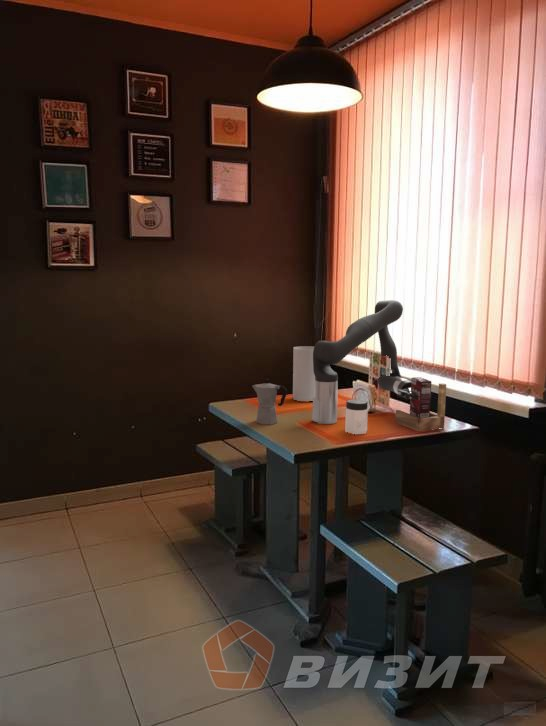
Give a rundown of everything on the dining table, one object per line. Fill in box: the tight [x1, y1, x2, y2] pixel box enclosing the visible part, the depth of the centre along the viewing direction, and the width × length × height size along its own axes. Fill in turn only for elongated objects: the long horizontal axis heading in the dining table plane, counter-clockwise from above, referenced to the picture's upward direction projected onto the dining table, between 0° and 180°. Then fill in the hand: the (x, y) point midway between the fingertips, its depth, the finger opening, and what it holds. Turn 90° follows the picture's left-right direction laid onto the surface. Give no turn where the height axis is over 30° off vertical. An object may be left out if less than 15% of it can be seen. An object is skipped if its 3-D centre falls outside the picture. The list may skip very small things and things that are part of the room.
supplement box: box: [409, 376, 432, 418], centre depth 241 cm, size 9×5×16 cm, turn 14°
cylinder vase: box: [292, 345, 315, 402], centre depth 286 cm, size 12×12×25 cm
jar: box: [344, 398, 369, 435], centre depth 232 cm, size 9×8×12 cm
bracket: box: [394, 382, 447, 432], centre depth 241 cm, size 12×16×18 cm
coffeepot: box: [251, 378, 288, 425], centre depth 244 cm, size 15×9×18 cm, turn 67°
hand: (423, 397), depth 238 cm, fingers closed on supplement box, 4 cm apart
